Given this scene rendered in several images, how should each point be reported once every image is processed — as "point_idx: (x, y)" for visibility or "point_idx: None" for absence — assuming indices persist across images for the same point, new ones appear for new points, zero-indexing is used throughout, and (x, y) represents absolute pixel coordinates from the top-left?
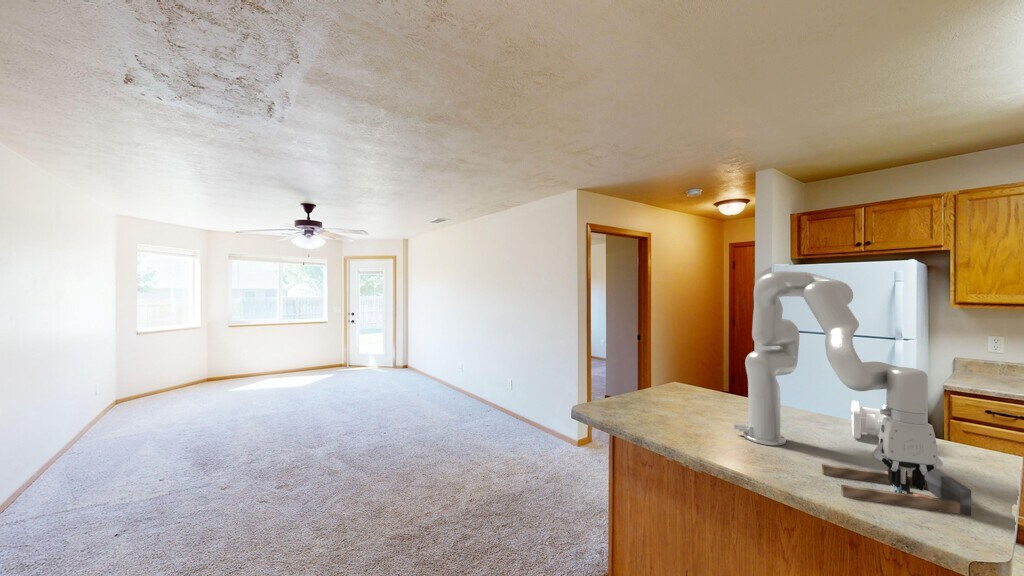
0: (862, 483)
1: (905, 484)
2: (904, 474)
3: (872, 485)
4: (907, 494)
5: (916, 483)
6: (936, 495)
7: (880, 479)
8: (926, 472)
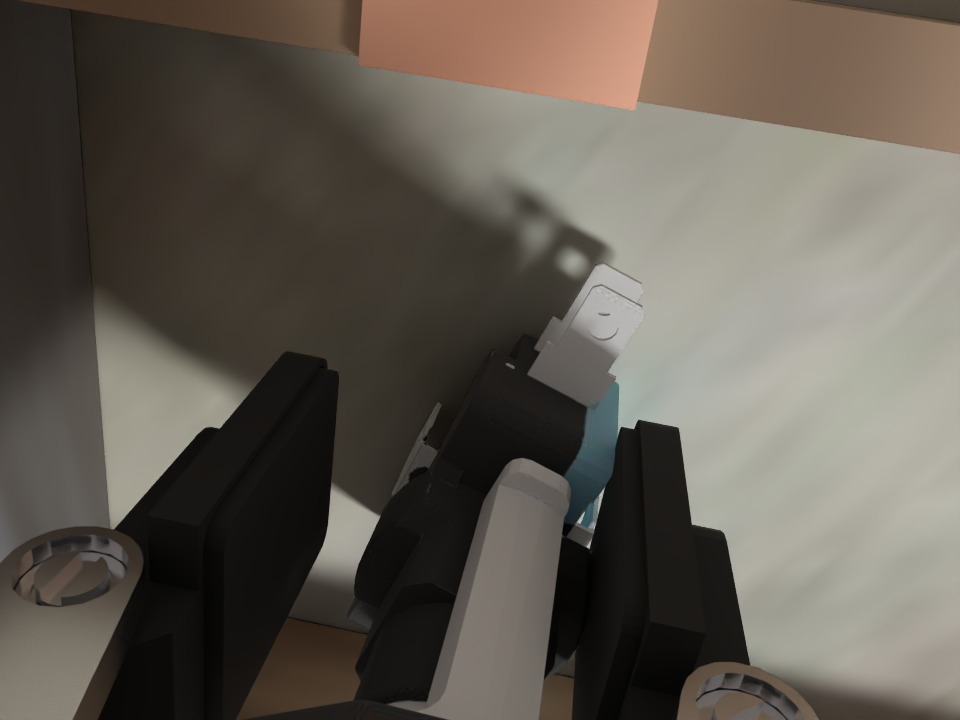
0: (889, 647)
1: (473, 492)
2: (493, 603)
3: (781, 606)
4: (768, 81)
5: (310, 474)
6: (92, 410)
7: None
8: (16, 586)
